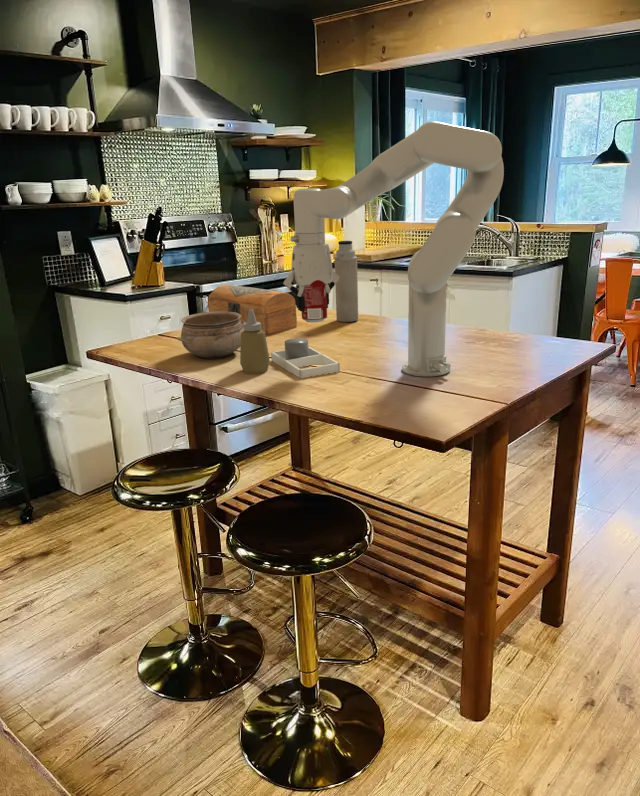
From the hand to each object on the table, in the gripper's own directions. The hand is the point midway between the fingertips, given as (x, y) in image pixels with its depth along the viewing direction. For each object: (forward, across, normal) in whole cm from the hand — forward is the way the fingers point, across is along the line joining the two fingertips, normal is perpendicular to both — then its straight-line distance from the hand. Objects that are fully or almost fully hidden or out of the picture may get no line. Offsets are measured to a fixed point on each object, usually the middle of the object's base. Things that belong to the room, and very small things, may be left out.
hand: (312, 308), depth 167 cm
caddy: (+18, -2, +4) cm, 18 cm away
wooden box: (+18, +2, +61) cm, 64 cm away
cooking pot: (+18, -20, +29) cm, 40 cm away
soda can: (+3, 0, 0) cm, 3 cm away
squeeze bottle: (+18, -15, +6) cm, 24 cm away
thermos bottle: (+18, +35, +52) cm, 65 cm away
